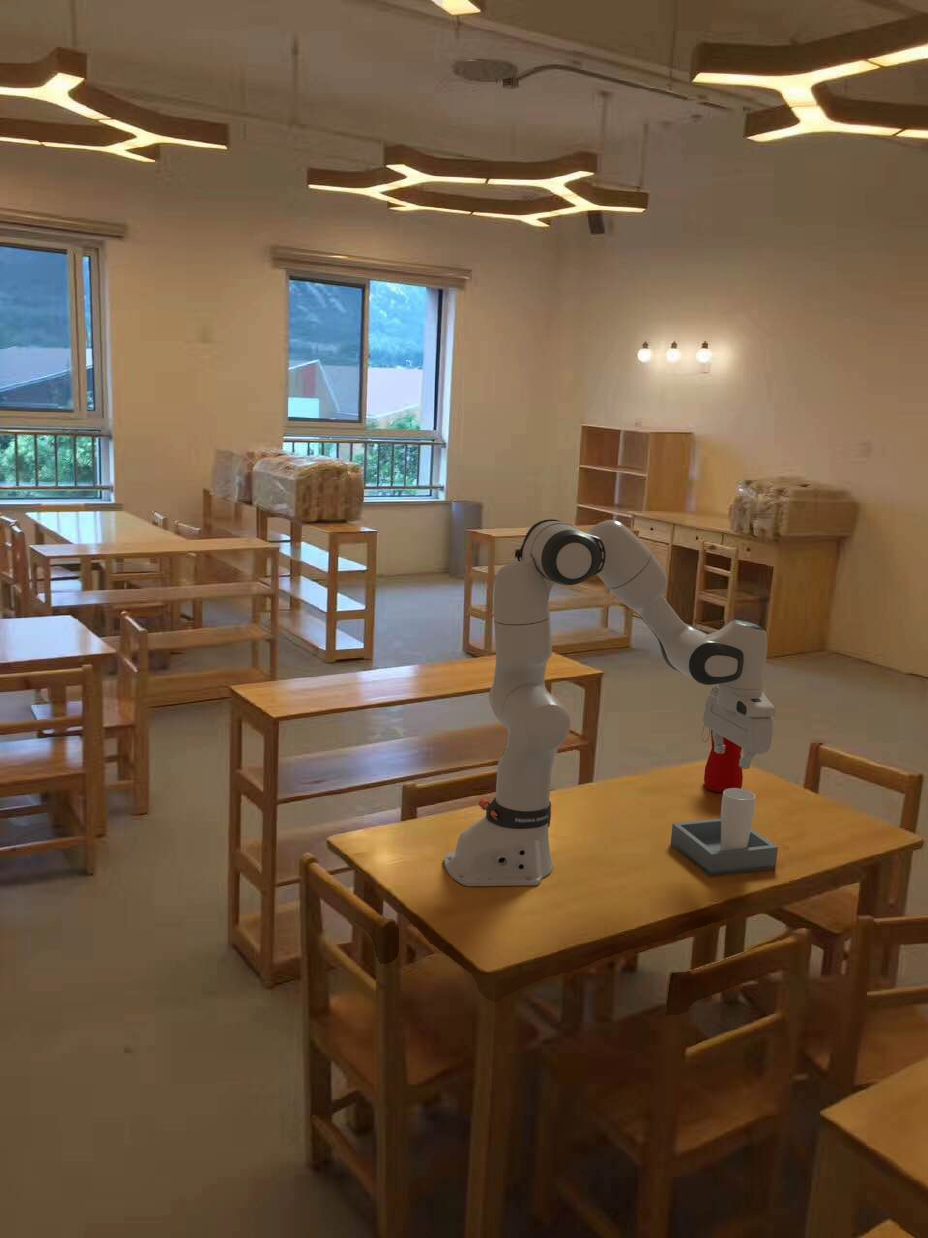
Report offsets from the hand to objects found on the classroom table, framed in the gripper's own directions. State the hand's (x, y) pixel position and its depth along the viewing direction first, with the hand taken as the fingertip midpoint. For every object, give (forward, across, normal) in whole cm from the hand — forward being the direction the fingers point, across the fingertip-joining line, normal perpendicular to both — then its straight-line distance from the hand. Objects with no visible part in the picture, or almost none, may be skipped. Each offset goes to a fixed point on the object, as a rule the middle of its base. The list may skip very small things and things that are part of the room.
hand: (731, 760), depth 213 cm
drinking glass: (+21, +4, 0) cm, 22 cm away
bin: (+22, 0, +1) cm, 22 cm away
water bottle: (+22, -36, +23) cm, 48 cm away
